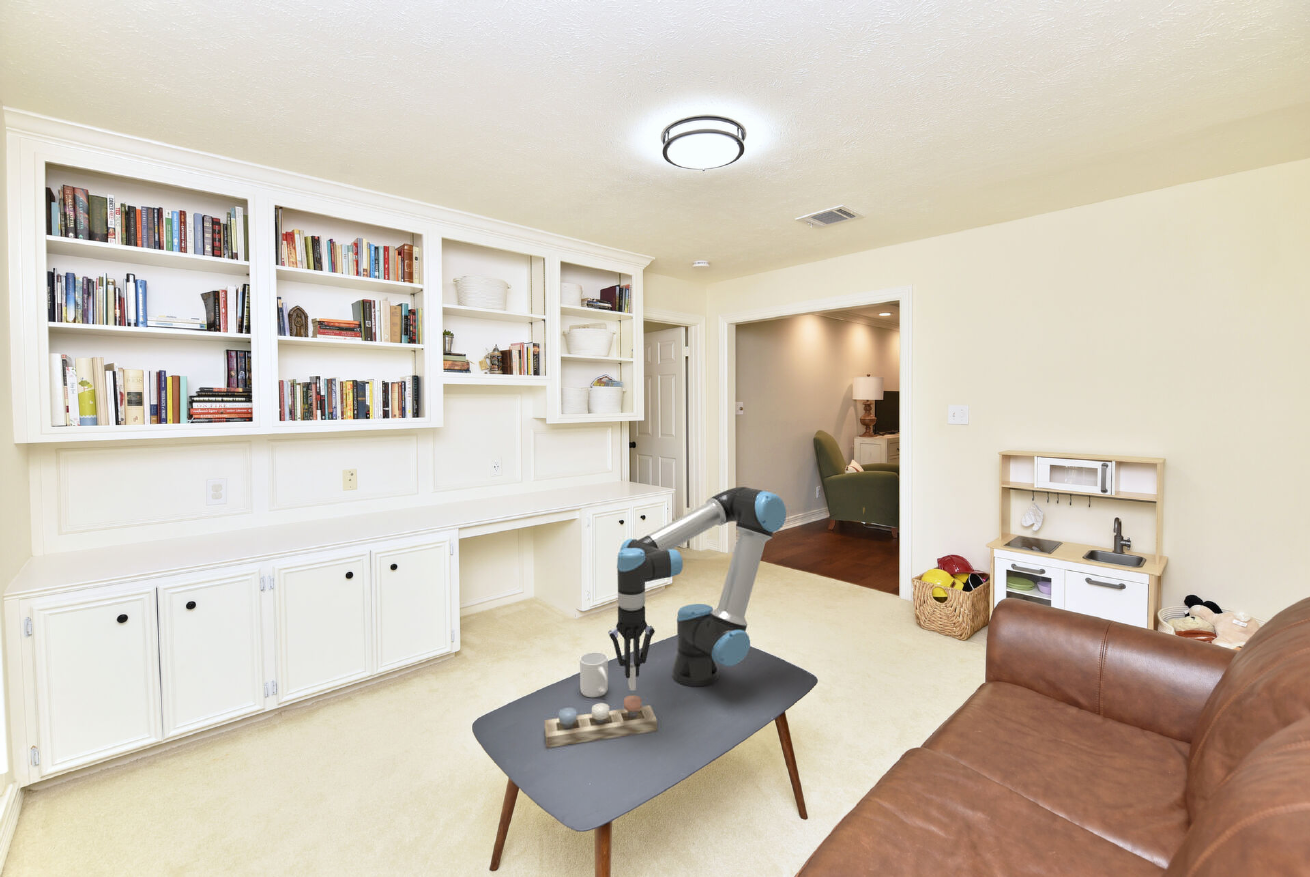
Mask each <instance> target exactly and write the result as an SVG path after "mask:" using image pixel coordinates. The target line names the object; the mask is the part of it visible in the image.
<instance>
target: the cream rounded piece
mask: <svg viewBox="0 0 1310 877" xmlns="http://www.w3.org/2000/svg"><path fill="white" fill-rule="evenodd" d="M609 711H610V706H609V705H608V704H607V703H603V702H599V703H595V704H593V705H592V707H591V714H592V717H593V718H594V719H596V725H601V724H606V718H607V717H609Z"/></svg>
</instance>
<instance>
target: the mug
mask: <svg viewBox="0 0 1310 877" xmlns="http://www.w3.org/2000/svg"><path fill="white" fill-rule="evenodd" d="M608 658H609V657H608V655H607V654H606V653H604V652H601V651H600V652H599V651H590V652H587V653H584V654H582V655H581V656H580V657H579V670H580V671H579V677H580V678H579V682H580V684H579V685H580V686H579V687H580V692H581V695H583V696H584V697H587V698H599V697H602V696H604V695H605V694H607V692H608V690H609V689H608V688H609V666H608V664H609V663H608V662H609V660H608Z"/></svg>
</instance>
